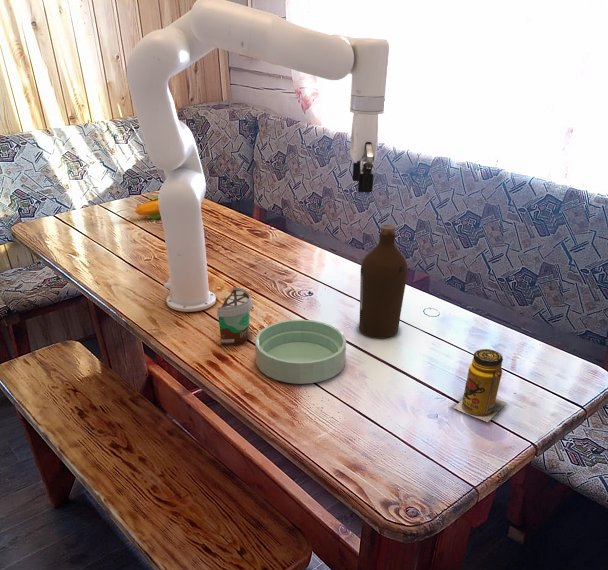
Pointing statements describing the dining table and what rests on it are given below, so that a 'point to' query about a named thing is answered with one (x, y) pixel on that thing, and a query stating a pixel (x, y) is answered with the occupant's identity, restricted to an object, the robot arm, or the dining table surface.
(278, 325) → the bowl
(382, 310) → the olive oil
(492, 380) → the condiment
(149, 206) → the corn
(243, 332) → the food container
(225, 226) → the dining table surface
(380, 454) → the dining table surface
